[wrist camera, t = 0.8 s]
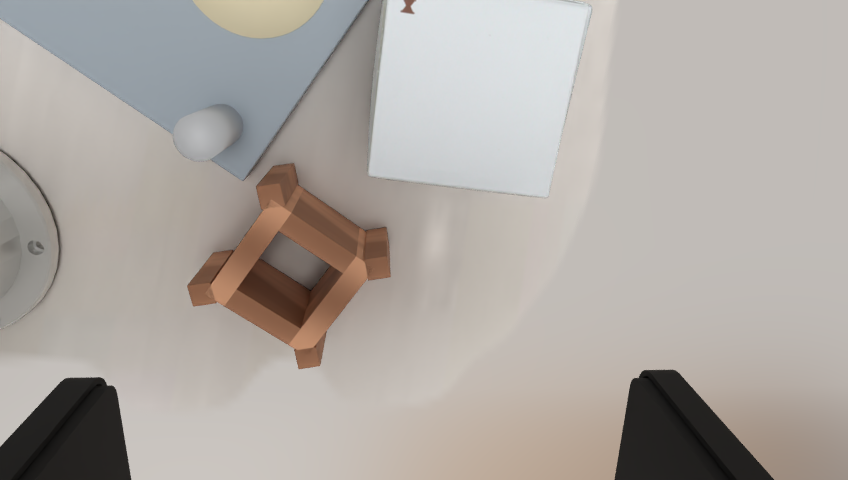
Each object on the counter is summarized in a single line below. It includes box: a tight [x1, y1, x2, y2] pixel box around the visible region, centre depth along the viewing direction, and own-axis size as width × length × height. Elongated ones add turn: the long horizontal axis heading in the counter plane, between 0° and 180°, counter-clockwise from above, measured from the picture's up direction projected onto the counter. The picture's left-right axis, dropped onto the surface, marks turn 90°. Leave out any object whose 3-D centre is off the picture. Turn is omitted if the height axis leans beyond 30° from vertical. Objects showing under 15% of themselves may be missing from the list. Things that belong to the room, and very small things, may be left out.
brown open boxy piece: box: [187, 163, 390, 369], centre depth 33 cm, size 8×8×5 cm
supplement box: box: [367, 0, 592, 198], centre depth 27 cm, size 7×7×13 cm
